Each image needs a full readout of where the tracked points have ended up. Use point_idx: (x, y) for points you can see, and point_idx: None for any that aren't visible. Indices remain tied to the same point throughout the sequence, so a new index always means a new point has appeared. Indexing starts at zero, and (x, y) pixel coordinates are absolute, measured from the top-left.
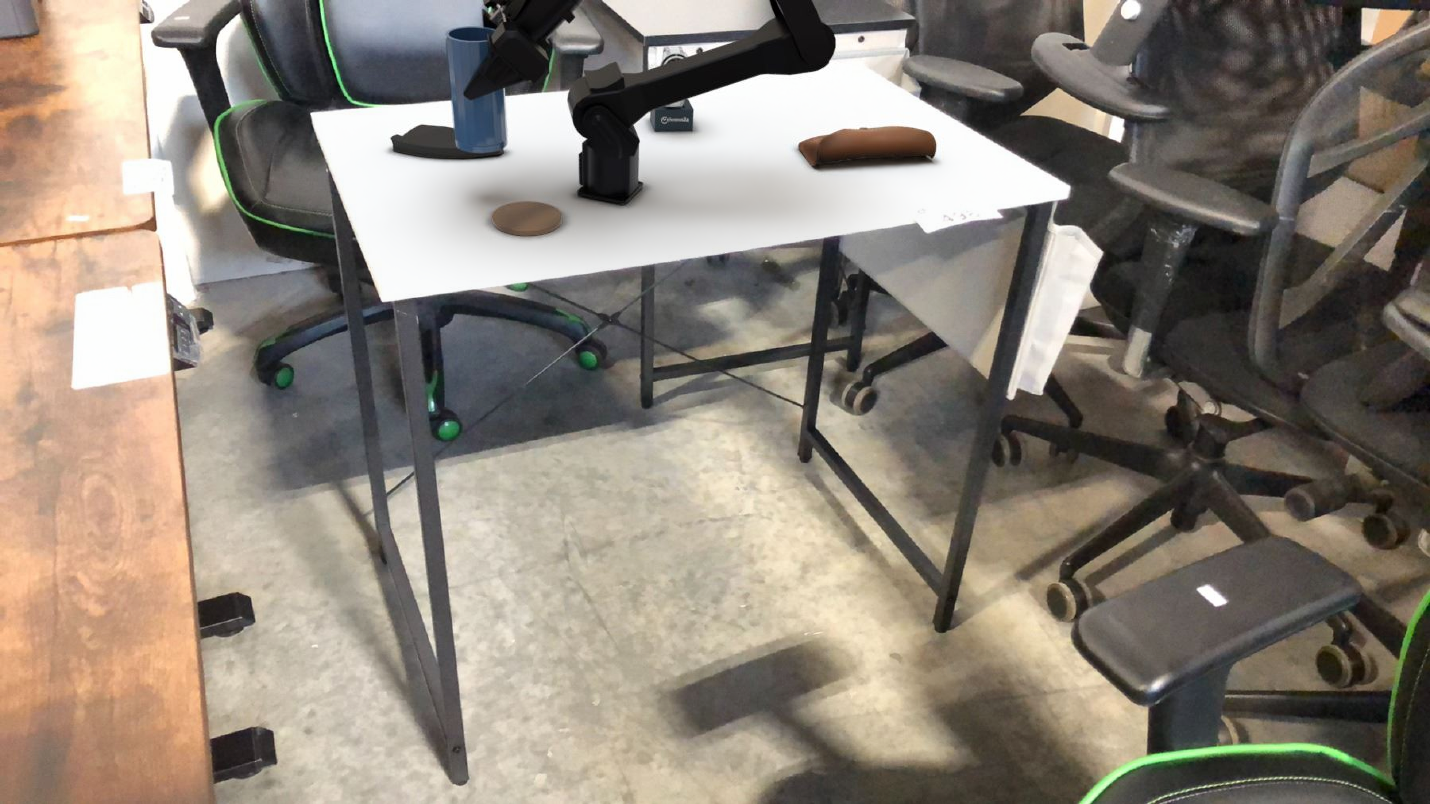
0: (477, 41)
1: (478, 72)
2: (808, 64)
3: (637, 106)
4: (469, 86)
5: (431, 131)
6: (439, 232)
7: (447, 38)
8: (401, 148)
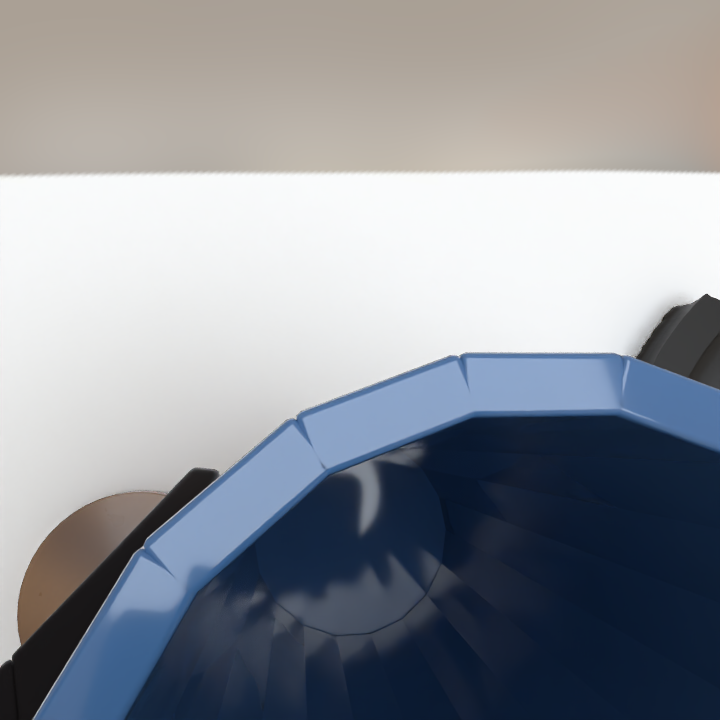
0: None
1: (13, 654)
2: None
3: None
4: (145, 523)
5: None
6: (135, 340)
7: (424, 365)
8: (670, 324)
